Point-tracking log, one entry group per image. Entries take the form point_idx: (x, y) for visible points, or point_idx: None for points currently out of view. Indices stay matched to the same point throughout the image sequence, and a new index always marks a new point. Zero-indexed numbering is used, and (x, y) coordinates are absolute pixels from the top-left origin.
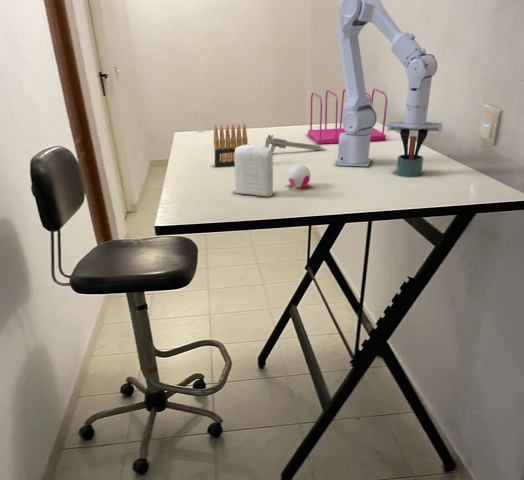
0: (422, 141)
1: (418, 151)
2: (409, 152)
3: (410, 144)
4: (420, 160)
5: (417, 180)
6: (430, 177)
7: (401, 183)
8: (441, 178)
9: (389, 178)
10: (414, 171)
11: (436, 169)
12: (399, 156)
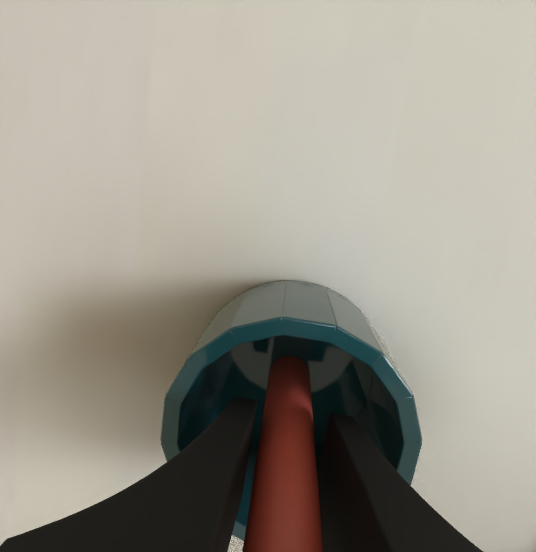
0: (123, 497)
1: (209, 427)
2: (311, 463)
3: (316, 545)
4: (200, 344)
5: (249, 171)
6: (143, 258)
7: (392, 73)
8: (67, 231)
9: (464, 227)
10: (260, 293)
11: (87, 459)
12: (401, 472)
